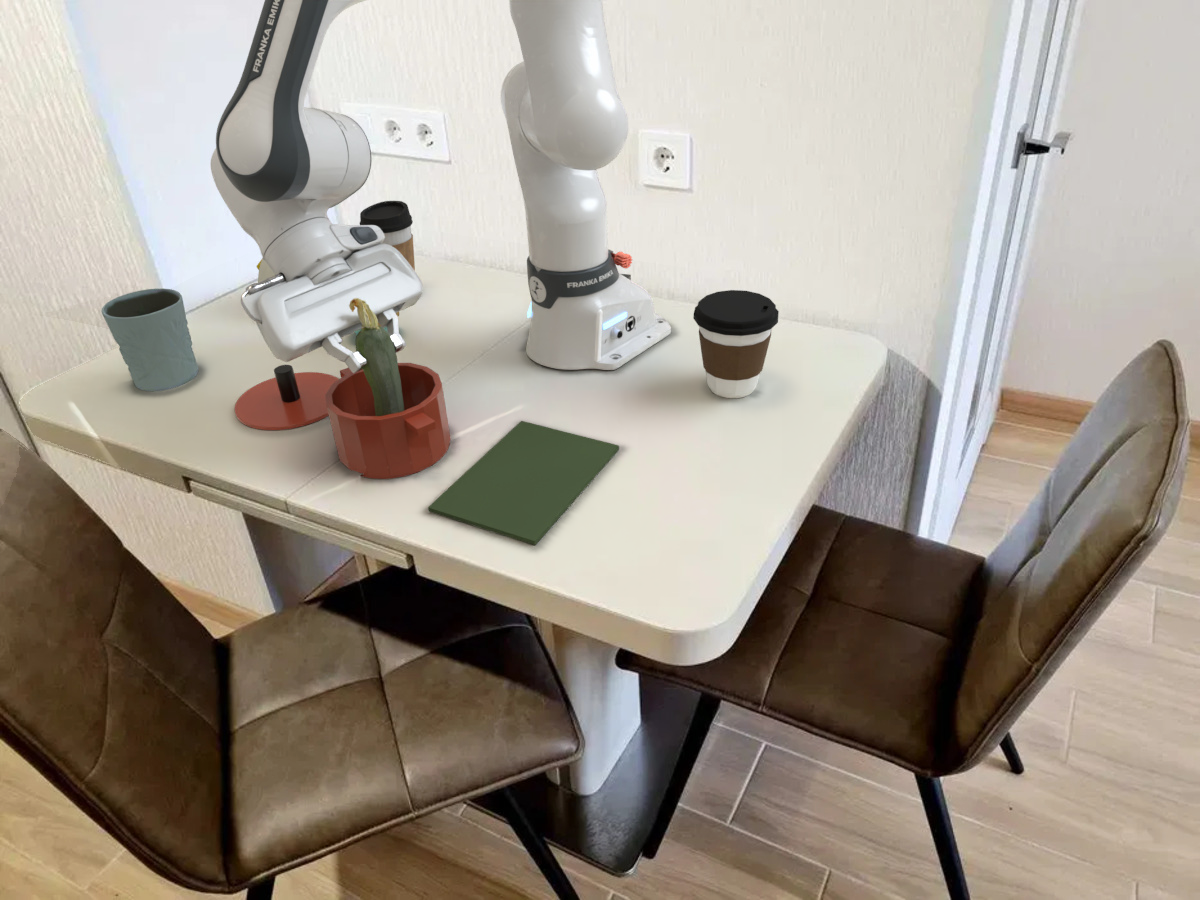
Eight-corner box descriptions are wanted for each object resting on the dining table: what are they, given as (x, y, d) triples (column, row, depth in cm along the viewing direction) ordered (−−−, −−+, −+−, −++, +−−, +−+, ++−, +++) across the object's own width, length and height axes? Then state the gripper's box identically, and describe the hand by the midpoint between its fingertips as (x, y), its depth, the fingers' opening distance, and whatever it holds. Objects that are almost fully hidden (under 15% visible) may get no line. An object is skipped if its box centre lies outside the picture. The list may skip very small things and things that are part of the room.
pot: (404, 399, 119) (394, 345, 115) (483, 456, 107) (475, 398, 102) (311, 437, 112) (296, 381, 107) (384, 503, 100) (371, 442, 95)
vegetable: (415, 434, 111) (388, 287, 100) (410, 453, 108) (381, 303, 96) (380, 436, 111) (349, 289, 100) (374, 455, 108) (341, 305, 96)
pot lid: (318, 368, 128) (310, 333, 125) (366, 405, 118) (359, 369, 115) (220, 404, 120) (208, 368, 117) (263, 447, 111) (251, 409, 107)
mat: (521, 424, 113) (521, 420, 113) (619, 449, 107) (619, 445, 107) (428, 511, 98) (427, 507, 98) (535, 545, 93) (535, 541, 92)
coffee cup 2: (780, 374, 121) (788, 294, 114) (762, 413, 113) (769, 329, 106) (704, 362, 125) (707, 283, 118) (681, 400, 116) (682, 317, 110)
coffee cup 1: (434, 290, 149) (421, 204, 141) (400, 309, 144) (384, 220, 135) (397, 281, 153) (382, 197, 145) (363, 299, 147) (345, 212, 139)
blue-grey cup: (117, 396, 123) (86, 318, 116) (150, 362, 131) (123, 287, 124) (188, 395, 122) (161, 317, 116) (216, 361, 131) (193, 286, 124)
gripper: (238, 277, 93) (313, 384, 93) (389, 221, 106) (455, 315, 106) (226, 305, 98) (298, 407, 98) (372, 249, 111) (435, 339, 111)
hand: (381, 359), depth 102 cm, fingers closed on vegetable, 4 cm apart
